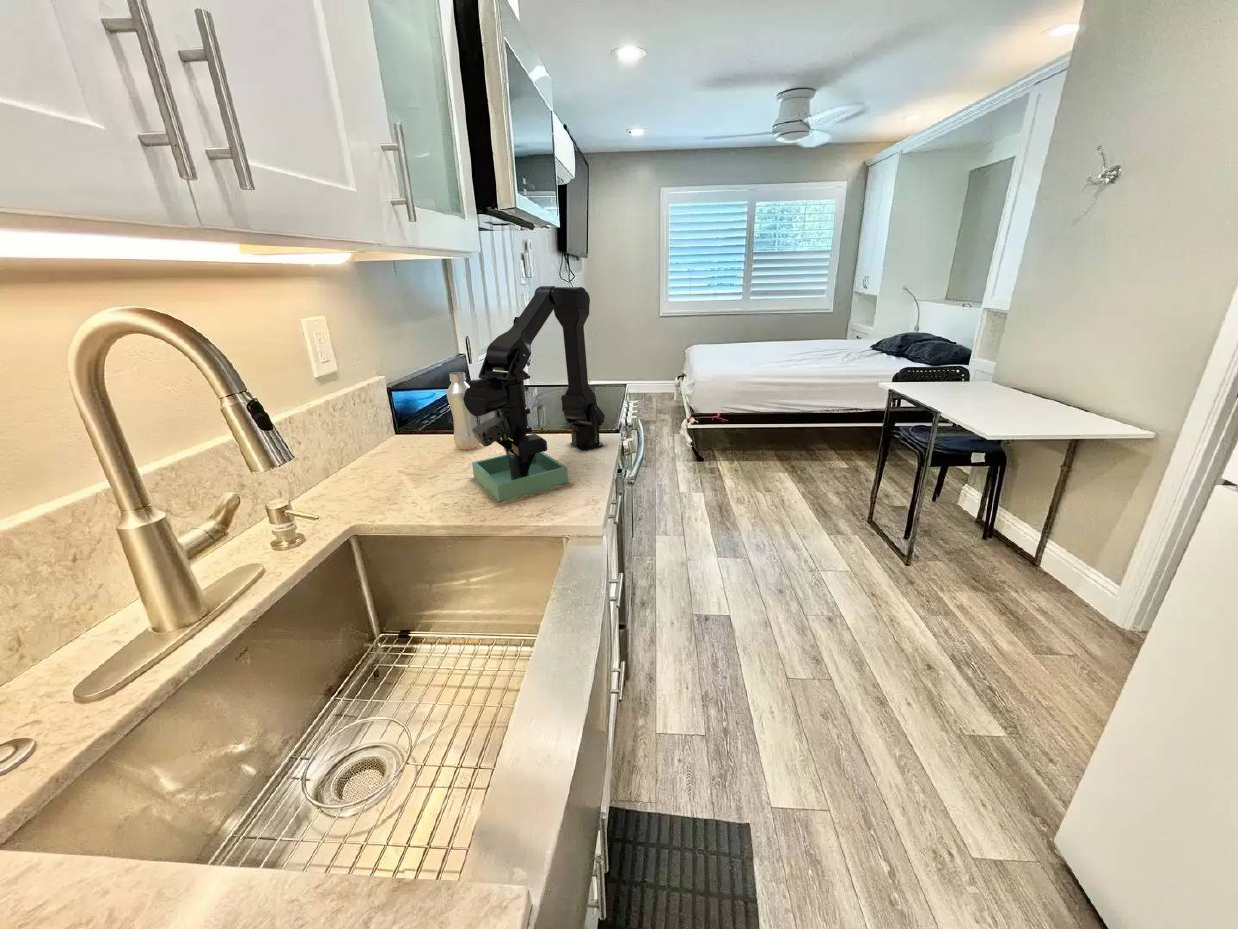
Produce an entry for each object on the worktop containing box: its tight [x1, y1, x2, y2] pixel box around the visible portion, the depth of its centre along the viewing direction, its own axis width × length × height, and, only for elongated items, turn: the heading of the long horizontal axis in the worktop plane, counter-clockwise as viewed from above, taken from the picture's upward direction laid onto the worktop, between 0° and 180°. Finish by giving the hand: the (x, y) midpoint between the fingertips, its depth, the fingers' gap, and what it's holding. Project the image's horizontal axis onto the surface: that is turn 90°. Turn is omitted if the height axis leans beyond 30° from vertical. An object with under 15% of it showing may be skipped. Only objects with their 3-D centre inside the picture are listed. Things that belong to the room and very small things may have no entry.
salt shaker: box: [508, 448, 529, 480], centre depth 107 cm, size 4×4×7 cm
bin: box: [471, 451, 569, 502], centre depth 107 cm, size 16×16×4 cm
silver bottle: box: [446, 371, 480, 450], centre depth 127 cm, size 6×7×20 cm
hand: (519, 473), depth 107 cm, fingers open, 4 cm apart
